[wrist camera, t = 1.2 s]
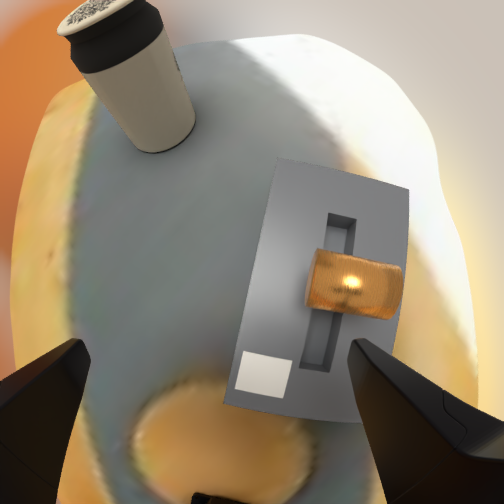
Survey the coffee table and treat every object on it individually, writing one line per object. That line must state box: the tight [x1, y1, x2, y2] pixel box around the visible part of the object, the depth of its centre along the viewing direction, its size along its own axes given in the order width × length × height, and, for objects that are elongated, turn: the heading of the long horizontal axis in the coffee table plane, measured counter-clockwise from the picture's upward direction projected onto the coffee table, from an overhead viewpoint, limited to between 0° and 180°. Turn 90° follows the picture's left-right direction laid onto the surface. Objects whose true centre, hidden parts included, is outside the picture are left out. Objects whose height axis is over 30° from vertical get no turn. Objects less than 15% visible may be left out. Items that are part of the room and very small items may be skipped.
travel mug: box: [57, 0, 195, 152], centre depth 19 cm, size 8×8×18 cm
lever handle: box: [305, 248, 403, 320], centre depth 17 cm, size 3×5×10 cm
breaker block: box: [223, 158, 409, 423], centre depth 21 cm, size 20×12×4 cm, turn 168°
